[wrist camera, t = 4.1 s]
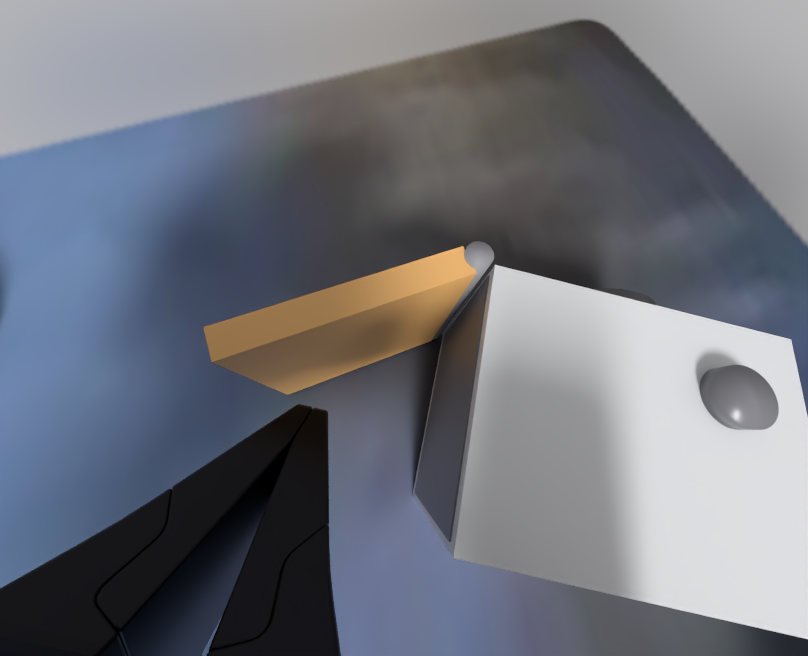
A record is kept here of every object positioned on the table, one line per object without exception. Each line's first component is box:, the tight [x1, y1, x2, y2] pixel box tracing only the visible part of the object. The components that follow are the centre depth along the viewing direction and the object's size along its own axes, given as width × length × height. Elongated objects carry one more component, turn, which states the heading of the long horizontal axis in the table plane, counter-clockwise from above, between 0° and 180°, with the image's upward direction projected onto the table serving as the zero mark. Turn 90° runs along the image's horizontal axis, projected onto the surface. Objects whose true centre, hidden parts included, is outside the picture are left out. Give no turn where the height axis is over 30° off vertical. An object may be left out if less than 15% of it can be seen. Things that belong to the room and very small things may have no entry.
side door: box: [203, 241, 494, 395], centre depth 12 cm, size 8×1×8 cm, turn 112°
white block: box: [412, 265, 808, 639], centre depth 12 cm, size 9×10×8 cm
